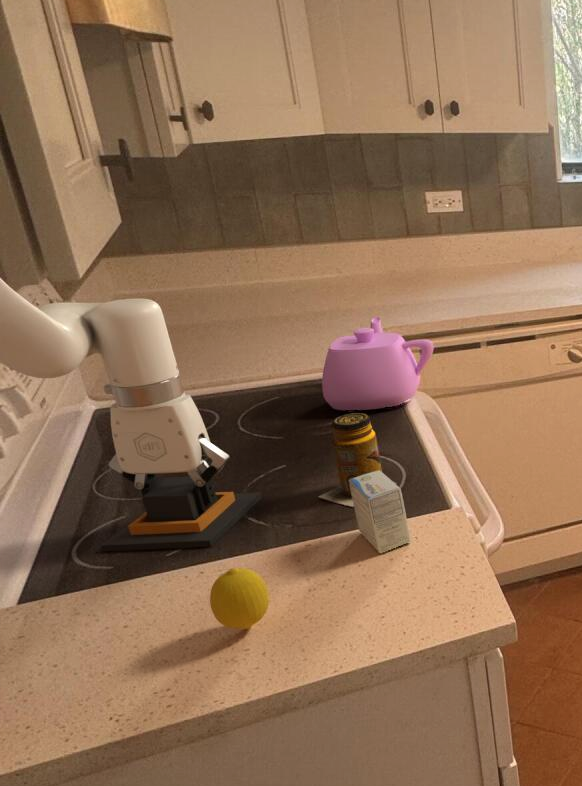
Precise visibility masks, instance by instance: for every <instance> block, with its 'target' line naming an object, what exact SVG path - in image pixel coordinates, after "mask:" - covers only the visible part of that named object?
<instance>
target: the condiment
mask: <svg viewBox="0 0 582 786" xmlns="http://www.w3.org/2000/svg"><path fill="white" fill-rule="evenodd" d="M331 427H332V434H333V436H332V440H331V443H332V448H333V452H334V458H335V462H336V466H337V473H338V477H339V482H340V485H339V486H337V487H335V488H333V489H331V490H329V491H328V492H325V493H322V494H321V495H319V496H317V497H318V498H321V499H323V500H326V501H329V502H331V503H336V504H338V505H339V504H340V505H344V506H348V507H352V508H354V505H353V500H352V495H351V491H350V485H349V480H350V479H352V478H355V477H358V476H361V475H364V474H367V473H371V472H375V471H381V472H382V473H383V468H382V463H381V458H380V451H379V447H378V446H379V445H378V439H377V436H376V432H375V430H373V426H372V424H371V417H370V416H369V415H368V414H366V413H362V412H353V413H347V414H343V415H340V416H337V417H336V418H334V419H333V420H332V424H331ZM393 482H394V483H395V484H396V485H397V482H395V481H393Z"/></svg>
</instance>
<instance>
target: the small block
mask: <svg viewBox="0 0 582 786" xmlns="http://www.w3.org/2000/svg"><path fill="white" fill-rule="evenodd" d="M161 482H162V483H160V484H159V485H158V486H156V487H155V488H154V489H152V490H151V491H150V492H148V493H147V494H145V495H144V496H143V495H142V496H141V500H142V504H143V506H144V511H145V510H146V513H147V516H148V519H149V522H168V521H189V520H195V519H196V518H198V517H199V516H200V515H201V514H202V513H203V512H200V511H199V508H198V504H197V501H196V497H195V494H194V491H193V487H195V486H196V484H195V483H194V481H193V480H192V479H191V477H190V476H177V477H167V478H165V479H164V480H163V481H161ZM212 483H213V487H214V490H215V491H216V489H215V486H214V482H213V481H212ZM215 494H216V493H215ZM216 501H217V496H216Z"/></svg>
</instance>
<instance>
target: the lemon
mask: <svg viewBox="0 0 582 786" xmlns="http://www.w3.org/2000/svg"><path fill="white" fill-rule="evenodd" d="M209 603H210V604H209V605H210V609H211V612H212V614H213V616H214V618H215V619H216V621H217V622H218V623H219V624H221V625H222V626H224V627H226V628H228V629H232V630H241V629H242V630H249V629H251V628H252V626H253V625H255V624H257V623H258V622H260V620H262V619H263V617H264V616H265V614H266V613H267V611H268V608H269V605H270V594H269V590H268V587H267V584H266V583H265V581H264V579H263V578H262V576H261V575H260V574H258V573H257V572H256V571H254V570H252V569H249V568H245V567H244V568H242V567H239V568H237V567H236V568H235V567H232V568H231V567H230V568H229V569H228V570H227V571H225V572H223V573H221V574H220V575H219V576H218V577H217V578H216V579H215V581H214V583H213V584H212V586H211V589H210V595H209Z"/></svg>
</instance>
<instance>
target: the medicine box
mask: <svg viewBox="0 0 582 786" xmlns="http://www.w3.org/2000/svg"><path fill="white" fill-rule="evenodd" d="M394 482H395V481H393V480H392V479H390V478H389V477H388V475H386V474H385V473H384V472H383V471H382V472H381V471H375V472H371V473H367V474H364V475H361V476H358V477H355V478H352V479H350V480H349V485H350V491H351V495H352V500H353V505H354V506H353V509H354V513H355V518H356V523H357V527H358V531H360V532H361V533H362V534H363V535H364V536H365V537H364V536H363V535H362V534H361V533H360V532H359V533H360V534H361V535H362V536H363V537H364V538H365V540H366V539H367V540H368V541H369V542H370V543H371V544H372V545H373V546H374V547H375V548H374V547H373V546H372V545H371V544H370V543H369V542H368V541H367V540H366V541H367V542H368V543H369V544H370V545H371V546H372V547H373V548H374V549H375V551H377V553H378V554H379V553H381V554H384V553H386V552H385V551H387V552H389V551H388V550H390V551H392V550H391V549H392V548H395V549H397V548H396V547H398V546H401V545H403V544H405V543H408V542H410V541H411V542H412V539H411V534H410V529H409V524H408V518H407V513H406V508H405V503H404V498H403V493H402V489H401V487H399V486H398V485H397V483H396V482H395V483H396V484H395V483H394ZM411 542H410V543H411ZM403 546H404V545H403ZM401 547H402V546H401ZM398 548H399V547H398ZM383 552H384V553H383Z"/></svg>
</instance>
